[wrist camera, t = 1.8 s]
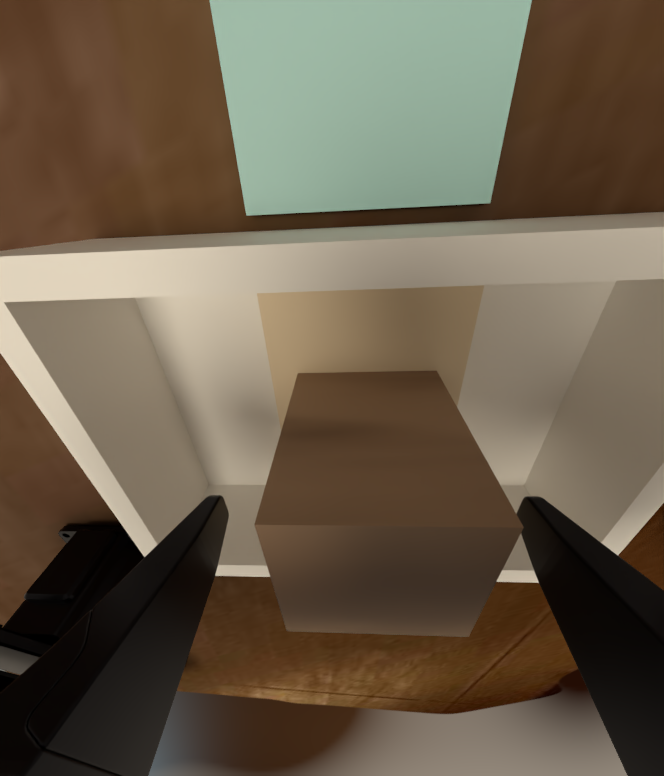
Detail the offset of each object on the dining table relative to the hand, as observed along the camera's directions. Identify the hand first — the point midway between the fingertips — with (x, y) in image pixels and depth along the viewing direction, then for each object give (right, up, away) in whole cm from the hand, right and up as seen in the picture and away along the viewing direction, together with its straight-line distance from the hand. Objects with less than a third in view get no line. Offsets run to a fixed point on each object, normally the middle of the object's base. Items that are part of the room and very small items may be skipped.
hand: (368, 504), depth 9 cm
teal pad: (0, +13, -1) cm, 13 cm away
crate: (0, +3, +5) cm, 6 cm away
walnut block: (0, +2, +3) cm, 4 cm away
